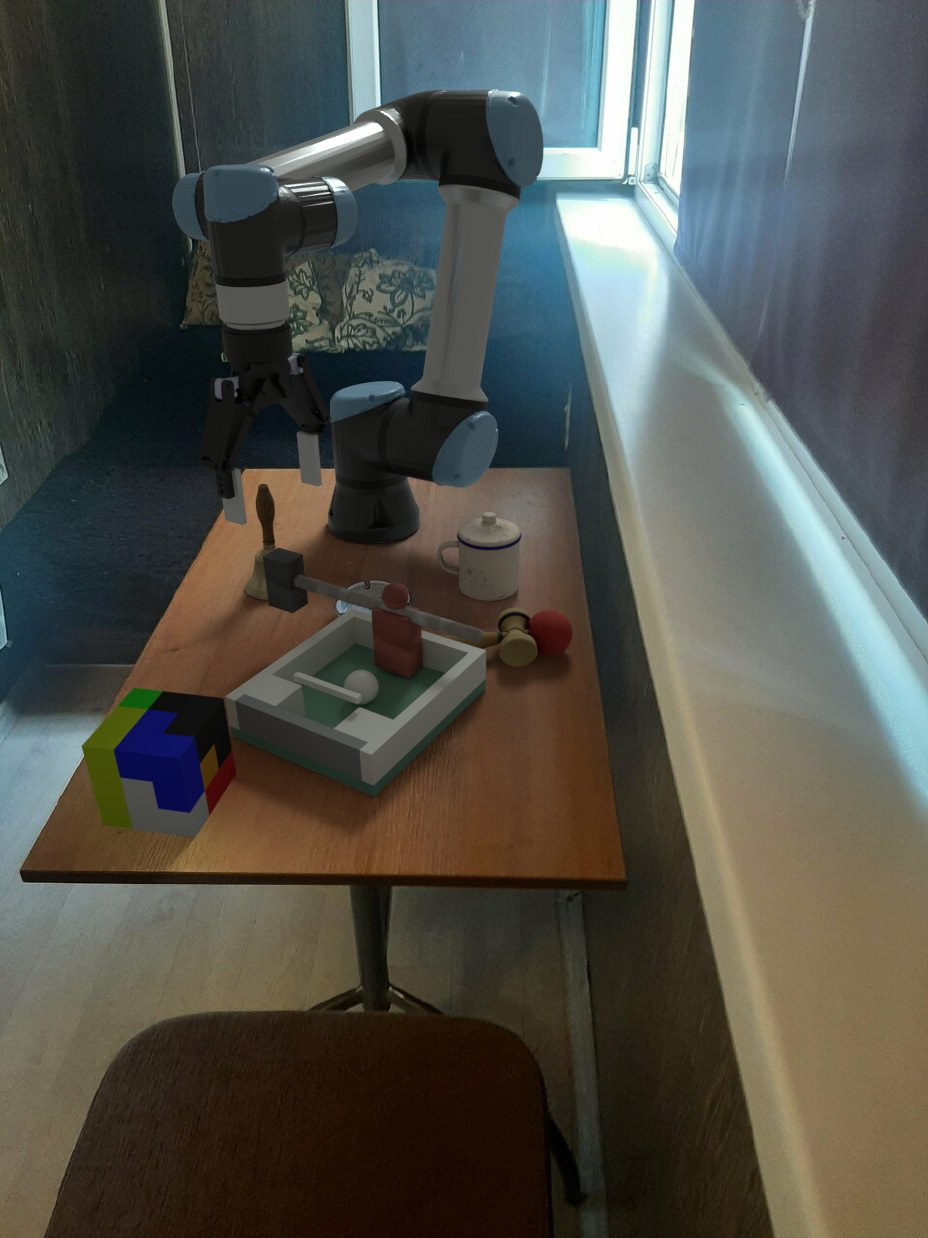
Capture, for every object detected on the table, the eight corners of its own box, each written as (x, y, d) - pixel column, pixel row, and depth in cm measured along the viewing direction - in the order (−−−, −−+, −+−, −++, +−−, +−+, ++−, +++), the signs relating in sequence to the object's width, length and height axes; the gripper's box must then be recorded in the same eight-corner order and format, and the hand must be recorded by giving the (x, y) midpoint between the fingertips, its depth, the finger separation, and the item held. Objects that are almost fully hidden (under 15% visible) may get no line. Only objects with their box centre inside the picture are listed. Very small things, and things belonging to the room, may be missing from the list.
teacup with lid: (520, 573, 141) (521, 501, 135) (520, 603, 133) (522, 528, 128) (439, 572, 142) (438, 500, 136) (435, 602, 134) (433, 526, 128)
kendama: (437, 685, 118) (579, 662, 118) (428, 639, 116) (573, 615, 116) (436, 661, 126) (570, 640, 125) (428, 617, 124) (565, 595, 123)
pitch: (354, 644, 124) (350, 595, 120) (485, 688, 115) (486, 637, 111) (231, 736, 107) (222, 683, 104) (374, 796, 98) (370, 740, 94)
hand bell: (306, 573, 142) (296, 473, 134) (297, 600, 135) (286, 496, 127) (251, 573, 142) (237, 473, 134) (239, 600, 135) (224, 496, 127)
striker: (287, 620, 125) (278, 542, 120) (486, 686, 112) (487, 602, 106) (271, 631, 123) (261, 552, 117) (472, 700, 109) (472, 614, 103)
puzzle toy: (195, 838, 93) (178, 758, 88) (102, 825, 95) (81, 745, 90) (236, 774, 102) (223, 698, 97) (150, 763, 103) (133, 687, 98)
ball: (358, 688, 113) (356, 659, 111) (386, 698, 111) (384, 669, 109) (338, 704, 110) (335, 676, 108) (365, 715, 108) (363, 686, 106)
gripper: (302, 297, 114) (316, 464, 125) (143, 341, 96) (176, 532, 107) (352, 304, 111) (362, 474, 122) (197, 350, 93) (225, 547, 103)
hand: (275, 502), depth 114 cm, fingers open, 13 cm apart
